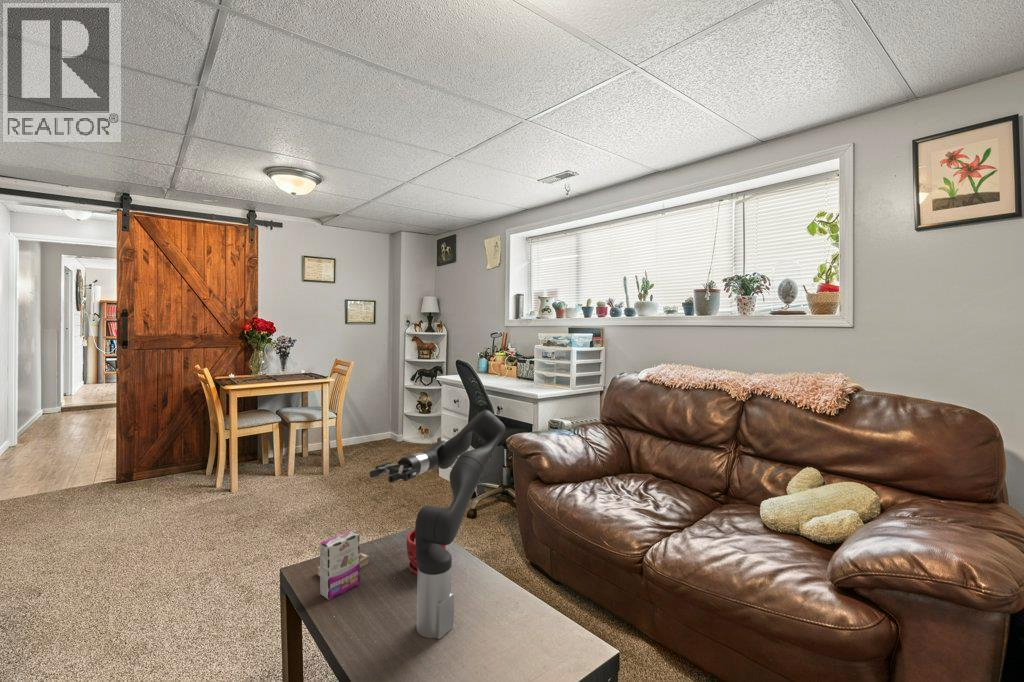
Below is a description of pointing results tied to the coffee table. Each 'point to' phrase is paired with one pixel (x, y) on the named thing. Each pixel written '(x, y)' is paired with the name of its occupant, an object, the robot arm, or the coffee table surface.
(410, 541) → the plant pot
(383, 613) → the coffee table surface
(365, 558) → the birch collar
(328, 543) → the candy bar box
